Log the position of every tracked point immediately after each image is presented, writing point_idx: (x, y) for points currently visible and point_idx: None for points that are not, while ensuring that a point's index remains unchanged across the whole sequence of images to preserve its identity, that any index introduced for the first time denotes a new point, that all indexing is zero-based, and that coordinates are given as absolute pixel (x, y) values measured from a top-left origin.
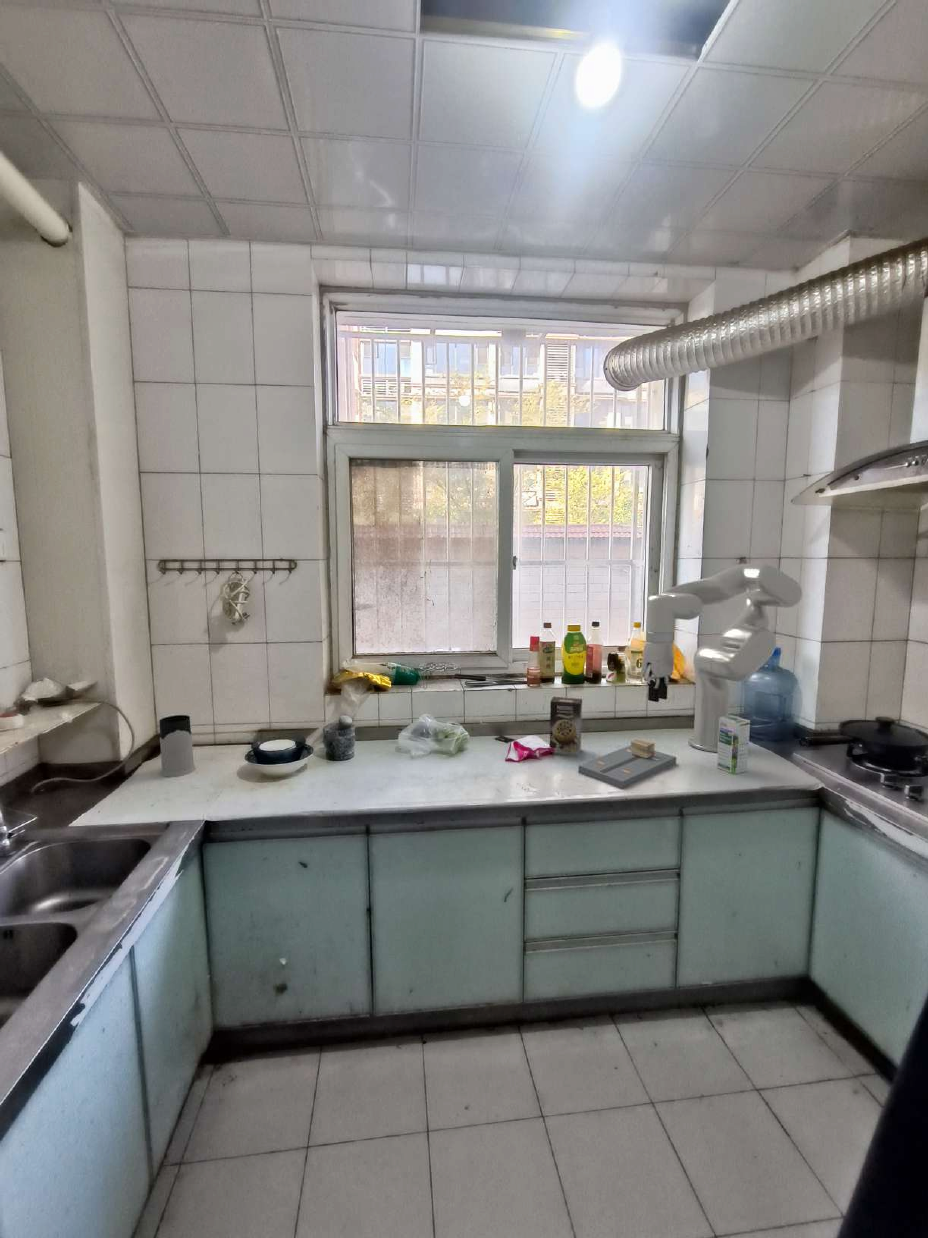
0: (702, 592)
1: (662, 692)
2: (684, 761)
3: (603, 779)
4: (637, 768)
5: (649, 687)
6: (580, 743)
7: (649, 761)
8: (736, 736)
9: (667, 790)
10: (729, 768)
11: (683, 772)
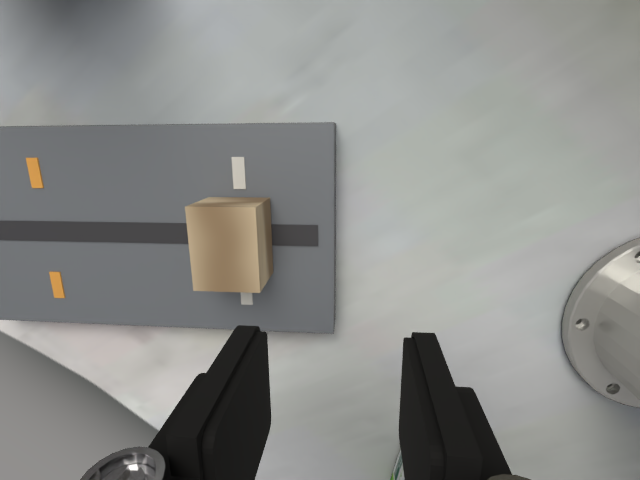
0: None
1: (409, 461)
2: (384, 328)
3: None
4: (115, 294)
5: (170, 448)
6: None
7: None
8: None
9: (123, 395)
10: (395, 478)
11: (283, 369)
